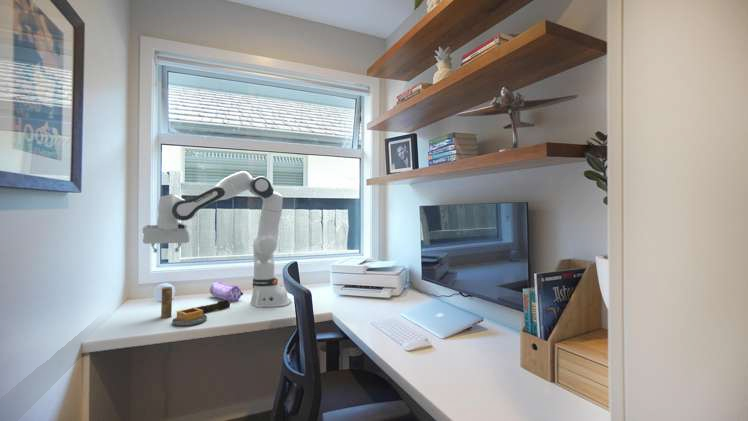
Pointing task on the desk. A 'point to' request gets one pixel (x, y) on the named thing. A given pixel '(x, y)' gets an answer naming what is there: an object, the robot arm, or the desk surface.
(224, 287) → the pencil case
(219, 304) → the hand tool
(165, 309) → the brown wooden block
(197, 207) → the robot arm
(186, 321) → the collar base
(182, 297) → the desk surface
